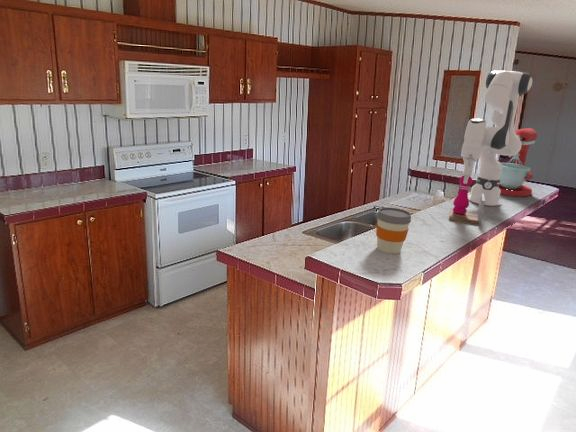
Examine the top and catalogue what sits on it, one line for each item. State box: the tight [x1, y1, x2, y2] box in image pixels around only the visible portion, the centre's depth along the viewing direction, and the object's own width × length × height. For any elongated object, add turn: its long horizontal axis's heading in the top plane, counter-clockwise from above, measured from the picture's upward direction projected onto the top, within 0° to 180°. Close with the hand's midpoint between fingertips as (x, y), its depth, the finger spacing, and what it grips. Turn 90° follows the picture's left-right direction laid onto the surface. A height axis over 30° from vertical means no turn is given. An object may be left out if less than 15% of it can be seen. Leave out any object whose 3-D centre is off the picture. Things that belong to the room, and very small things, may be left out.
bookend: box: [448, 193, 485, 226], centre depth 227 cm, size 16×14×12 cm
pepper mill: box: [453, 175, 473, 214], centre depth 226 cm, size 7×7×20 cm
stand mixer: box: [498, 127, 538, 197], centre depth 292 cm, size 24×32×40 cm
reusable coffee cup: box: [375, 207, 412, 255], centre depth 177 cm, size 13×13×15 cm
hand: (465, 181), depth 225 cm, fingers closed on pepper mill, 6 cm apart
